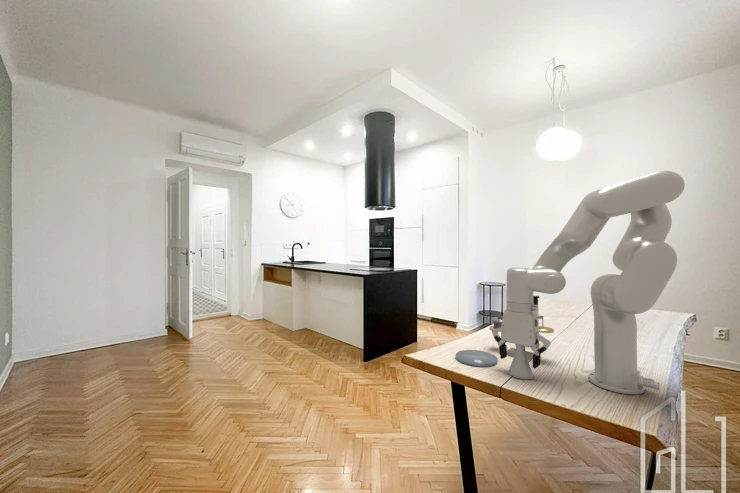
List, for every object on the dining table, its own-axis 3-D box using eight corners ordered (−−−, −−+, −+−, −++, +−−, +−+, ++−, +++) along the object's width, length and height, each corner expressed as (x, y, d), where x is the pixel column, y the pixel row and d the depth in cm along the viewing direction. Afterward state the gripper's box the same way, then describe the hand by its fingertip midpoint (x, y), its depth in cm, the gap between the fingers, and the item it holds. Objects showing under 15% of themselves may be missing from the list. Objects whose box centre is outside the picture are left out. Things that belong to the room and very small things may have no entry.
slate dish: (504, 359, 105) (504, 356, 105) (485, 370, 96) (485, 367, 96) (468, 349, 116) (468, 347, 116) (448, 359, 106) (448, 356, 106)
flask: (528, 370, 96) (527, 339, 96) (538, 380, 88) (538, 347, 89) (504, 370, 96) (504, 339, 96) (513, 380, 89) (512, 346, 89)
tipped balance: (556, 361, 103) (556, 315, 103) (550, 366, 99) (549, 318, 99) (494, 346, 119) (493, 306, 119) (486, 350, 115) (486, 309, 115)
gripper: (554, 310, 89) (554, 367, 89) (497, 301, 102) (497, 352, 102) (546, 314, 84) (545, 374, 84) (487, 304, 97) (486, 357, 97)
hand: (519, 362), depth 93 cm, fingers open, 9 cm apart
